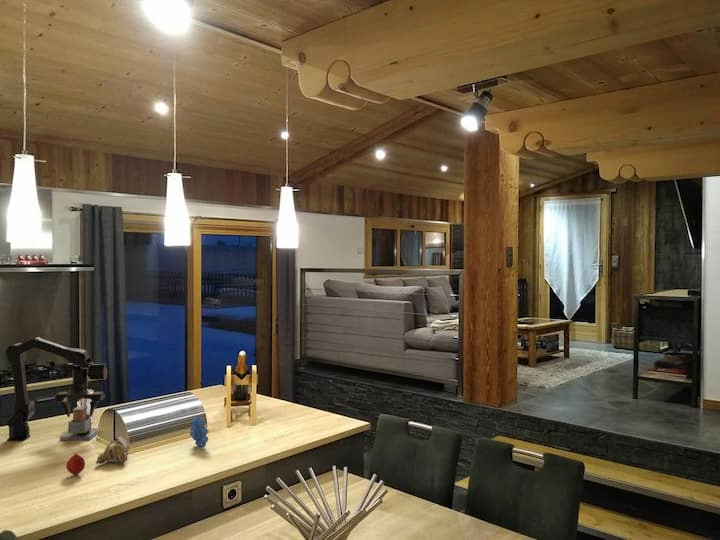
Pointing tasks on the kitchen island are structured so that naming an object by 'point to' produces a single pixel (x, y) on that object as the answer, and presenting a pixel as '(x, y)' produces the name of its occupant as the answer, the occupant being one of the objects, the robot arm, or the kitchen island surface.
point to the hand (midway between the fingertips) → (79, 416)
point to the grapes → (199, 432)
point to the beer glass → (86, 403)
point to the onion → (75, 464)
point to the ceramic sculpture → (115, 451)
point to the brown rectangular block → (80, 414)
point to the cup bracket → (80, 430)
